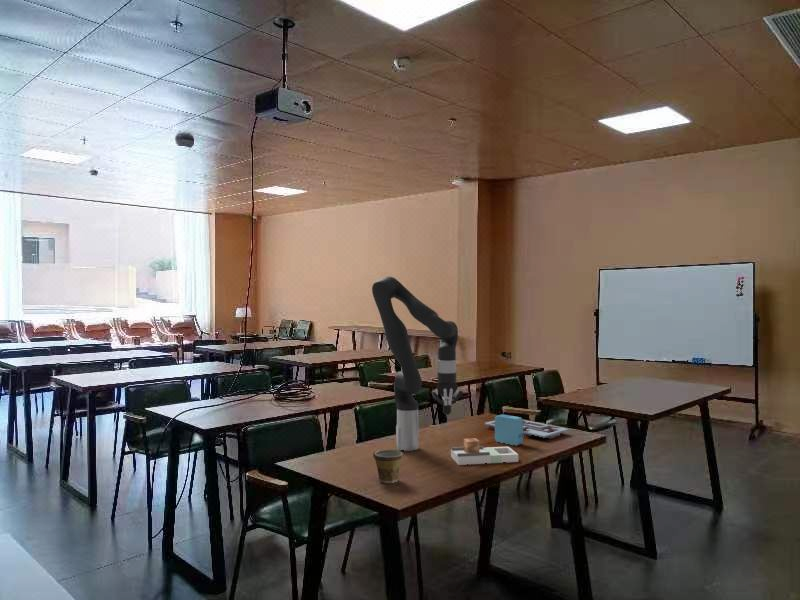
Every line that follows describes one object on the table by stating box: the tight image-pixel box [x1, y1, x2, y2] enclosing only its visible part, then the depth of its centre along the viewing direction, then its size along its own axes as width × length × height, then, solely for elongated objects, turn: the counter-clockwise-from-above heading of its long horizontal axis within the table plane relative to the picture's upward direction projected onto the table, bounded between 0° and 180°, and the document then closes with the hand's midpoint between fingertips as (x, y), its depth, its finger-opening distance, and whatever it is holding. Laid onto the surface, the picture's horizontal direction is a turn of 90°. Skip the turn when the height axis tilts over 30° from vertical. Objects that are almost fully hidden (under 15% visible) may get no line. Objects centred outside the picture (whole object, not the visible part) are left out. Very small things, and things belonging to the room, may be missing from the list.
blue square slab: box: [494, 414, 524, 447], centre depth 260 cm, size 12×4×12 cm, turn 48°
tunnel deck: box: [450, 445, 519, 466], centre depth 236 cm, size 24×12×4 cm, turn 99°
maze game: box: [484, 419, 570, 439], centre depth 282 cm, size 35×20×3 cm, turn 41°
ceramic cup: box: [372, 449, 403, 484], centre depth 210 cm, size 13×10×10 cm
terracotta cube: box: [463, 437, 480, 453], centre depth 235 cm, size 5×5×5 cm
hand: (447, 414), depth 233 cm, fingers closed
